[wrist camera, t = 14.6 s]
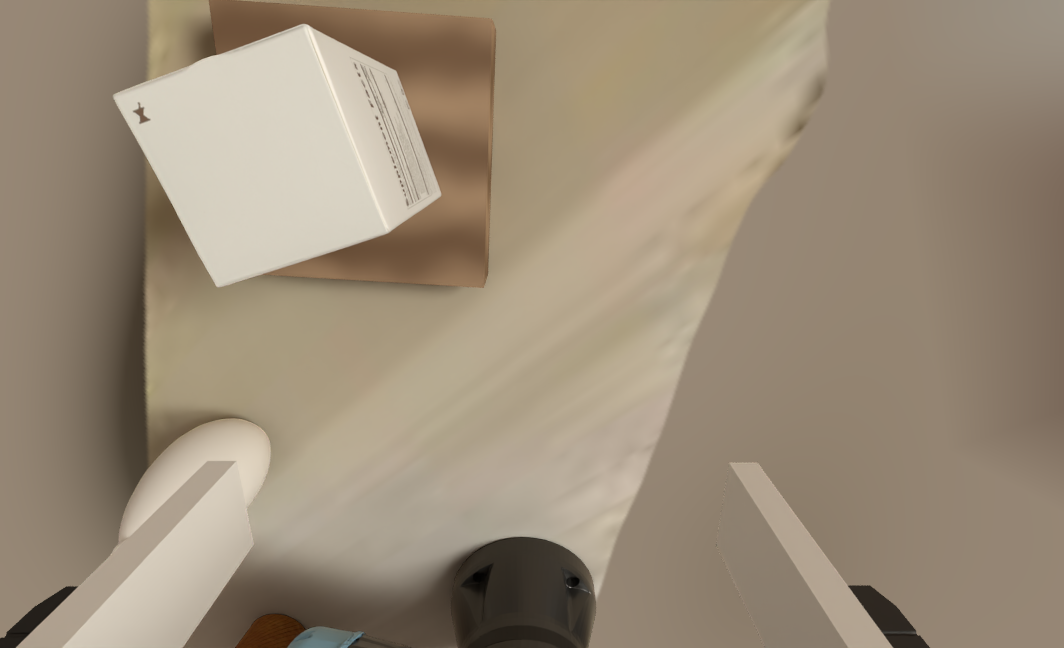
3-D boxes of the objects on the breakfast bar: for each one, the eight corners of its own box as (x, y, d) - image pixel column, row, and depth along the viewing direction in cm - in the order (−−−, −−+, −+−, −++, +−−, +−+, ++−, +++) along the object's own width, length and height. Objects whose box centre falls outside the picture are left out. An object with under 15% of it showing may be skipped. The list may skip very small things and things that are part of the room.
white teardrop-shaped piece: (213, 386, 46) (31, 530, 29) (299, 413, 47) (169, 568, 30) (201, 454, 49) (26, 623, 32) (282, 479, 50) (154, 654, 33)
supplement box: (330, 235, 38) (209, 294, 24) (274, 109, 35) (98, 90, 21) (446, 198, 37) (392, 237, 23) (398, 66, 34) (303, 16, 20)
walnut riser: (487, 274, 43) (483, 287, 39) (271, 261, 42) (246, 273, 39) (496, 30, 36) (491, 18, 33) (242, 12, 36) (208, -2, 32)
